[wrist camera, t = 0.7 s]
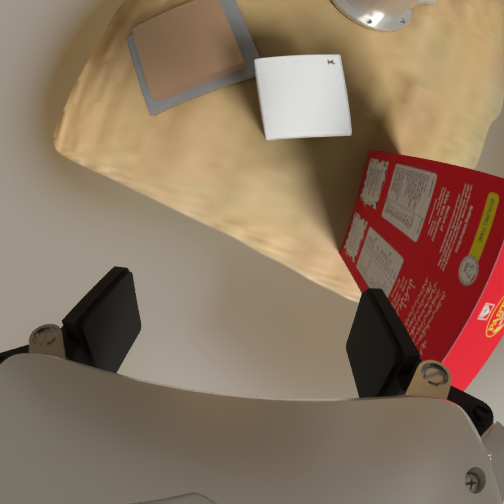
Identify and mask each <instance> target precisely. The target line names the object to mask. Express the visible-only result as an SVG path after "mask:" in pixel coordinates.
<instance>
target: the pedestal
mask: <svg viewBox="0 0 504 504" xmlns="http://www.w3.org/2000/svg"><path fill="white" fill-rule="evenodd" d="M131 31H132V35H130V36H128V37H126V39H127V42H128V46H129V49H130V53H131V56H132V60H133V63H134V66H135V70H136V73H137V76H138V80H139V83H140V86H141V89H142V92H143V95H144V98H145V102H146V105H147V108H148V111H149V114H150V115H152V116H156V115H158V114H160V113H162V112H164V111H166V110H168V109H171V108H173V107H175V106H177V105H180V104H182V103H184V102H187V101H189V100H192V99H194V98H197V97H199V96H202V95H204V94H207V93H210V92H212V91H215V90H218V89H221V88H223V87H226V86H229V85H232V84H235V83H238V82H241V81H244V80H248V79H251V78H254V77H256V75H255V65H254V60H255V59H259V58H260V56H259V54H258V51H257V49H256V46H255V44H254V41H253V39H252V37H251V34H250V32H249V29H248V27H247V25H246V23H245V20H244V18H243V16H242V14H241V11H240V9H239V7H238V5H237V3H236V0H193V1H190V2H188V3H185V4H183V5H180V6H178V7H176V8H173V9H171V10H169V11H166V12H164V13H162V14H160V15H158V16H155V17H153V18H151V19H149V20H147V21H145V22H143V23H141V24H139V25H138V26H136V27H134V28H132V29H131Z"/></svg>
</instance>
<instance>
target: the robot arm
mask: <svg viewBox="0 0 504 504" xmlns="http://www.w3.org/2000/svg"><path fill="white" fill-rule="evenodd" d="M331 1H332V2H333V4H334V5H335V6H336V8H337V9H338V10H339V11H340V12H341V13H343V14H344V15H345V16H346V17H348V18H349V19H351V20H352V21H354V22H355V23H357V24H359V25H361V26H363V27H366V28H369V29H371V30H375V31H380V32H393V31H397V30H400V29H402V28H403V27H405V26H406V25H407V24H408V23H409V22H410V20H411V18H412V13H413V12H412V7H413V6H418V5H420V4H423V5H431V6H434V5H435V4H436V0H331ZM62 323H63V327H62V328H60V327H59V326H57V325H55V324H46V325H42V326H40V327H38V328H36V329H35V330H34V331H33V332H32V333H31V335H30V338H29V345H26V346H22V347H19V348H16V349H12V350H9V351H5V352H2V353H0V504H502V502H503V500H504V427H503V426H502V425H501V424H500V423H499V422H496V423H495V424H494V423H493V412H492V410H491V408H490V407H489V406H488V405H487V404H486V403H484V402H483V401H481V400H479V399H477V398H475V397H473V396H471V395H469V394H467V393H465V392H463V391H461V390H459V389H457V388H455V387H454V386H452V385H451V382H452V376H451V373H450V371H449V370H448V368H447V367H446V366H445V365H443V364H442V363H440V362H437V361H434V360H426V361H423V362H422V360H421V358H420V353H419V351H418V349H417V347H416V346H415V344H414V342H413V340H412V338H411V337H410V335H409V333H408V331H407V330H406V328H405V326H404V324H403V323H402V321H401V319H400V318H399V316H398V314H397V313H396V311H395V309H394V308H393V306H392V304H391V303H390V301H389V299H388V298H387V296H386V295H385V293H384V291H383V290H382V289H380V288H368V289H367V290H366V291H363V292H362V295H361V298H360V302H359V305H358V309H357V312H356V315H355V318H354V322H353V325H352V328H351V331H350V334H349V337H348V340H347V344H346V351H347V354H348V358H349V361H350V365H351V368H352V372H353V376H354V379H355V383H356V387H357V390H358V395H359V398H345V399H288V398H267V397H254V396H242V395H231V394H222V393H215V392H207V391H200V390H194V389H188V388H182V387H176V386H170V385H165V384H159V383H155V382H150V381H146V380H141V379H136V378H132V377H128V376H124V375H120V374H117V371H118V369H119V367H120V365H121V364H122V362H123V360H124V359H125V357H126V355H127V353H128V351H129V350H130V348H131V346H132V344H133V343H134V341H135V339H136V338H137V336H138V334H139V332H140V330H141V320H140V315H139V310H138V305H137V299H136V293H135V287H134V281H133V275H132V272H129V270H128V268H124V267H113V268H112V269H111V270H110V271H109V272H108V273H107V274H106V275H105V276H104V277H103V278H102V279H101V280H100V281H99V282H98V283H97V284H96V285H95V286H94V287H93V288H92V289H91V290H90V291H89V292H88V293H87V294H86V295H85V296H84V297H83V299H81V301H80V302H79V303H78V304H77V305H76V306H75V307H74V308H73V309H72V310H71V311H70V312H69V314H67V315H66V317H65V318H64V319H63V320H62Z"/></svg>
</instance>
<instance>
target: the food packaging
mask: <svg viewBox="0 0 504 504" xmlns="http://www.w3.org/2000/svg"><path fill="white" fill-rule="evenodd" d="M340 256H341V257H342V259H343V261H344V262H345V264H346V266H347V268H348V269H349V271H350V273H351V275H352V276H353V278H354V280H355V282H356V283H357V285H358V287H359V289H360V291H361V292H363V291H366V290H367V289H368V288H380V289H382V290H383V291H384V293H385V295H386V296H387V298H388V299H389V301H390V303H391V304H392V306H393V308H394V309H395V311H396V313H397V314H398V316H399V318H400V319H401V321H402V323H403V324H404V326H405V328H406V330H407V331H408V333H409V335H410V337H411V338H412V340H413V342H414V344H415V346H416V347H417V349H418V351H419V353H420V358H421V360H422V362H423V361H426V360H434V361H437V362H440V363H442V364H443V365H445V366H446V367H447V368H448V370H449V371H450V373H451V376H452V382H451V385H452V386H454V387H455V388H457V389H459V390H461V391H463V392H464V390H465V389H466V388H467V387H468V385H469V384H470V383H471V382H472V380H473V379H474V378H475V376H476V375H477V374H478V372H479V371H480V369H481V368H482V367H483V365H484V364H485V362H486V361H487V360H488V358H489V357H490V355H491V354H492V352H493V351H494V349H495V347H496V346H497V344H498V343H499V341H500V340H501V338H502V336H503V335H504V178H500V177H497V176H493V175H490V174H487V173H483V172H480V171H475V170H472V169H468V168H464V167H460V166H456V165H451V164H447V163H442V162H438V161H433V160H428V159H422V158H417V157H411V156H405V155H399V154H393V153H386V152H379V151H371V150H370V151H369V155H368V159H367V163H366V167H365V171H364V175H363V179H362V183H361V186H360V190H359V194H358V197H357V201H356V204H355V208H354V211H353V214H352V218H351V221H350V224H349V228H348V231H347V234H346V237H345V240H344V243H343V246H342V249H341V252H340Z"/></svg>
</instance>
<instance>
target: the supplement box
mask: <svg viewBox="0 0 504 504" xmlns="http://www.w3.org/2000/svg"><path fill="white" fill-rule="evenodd" d="M254 65H255V75H256V83H257V92H258V98H259V105H260V111H261V117H262V123H263V128H264V133H265V138H266V140H278V139H290V138H308V137H328V136H351V135H352V127H351V119H350V111H349V104H348V96H347V88H346V84H345V78H344V72H343V67H342V61H341V56H340V54H313V55H293V56H279V57H268V58H259V59H255V60H254Z"/></svg>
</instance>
